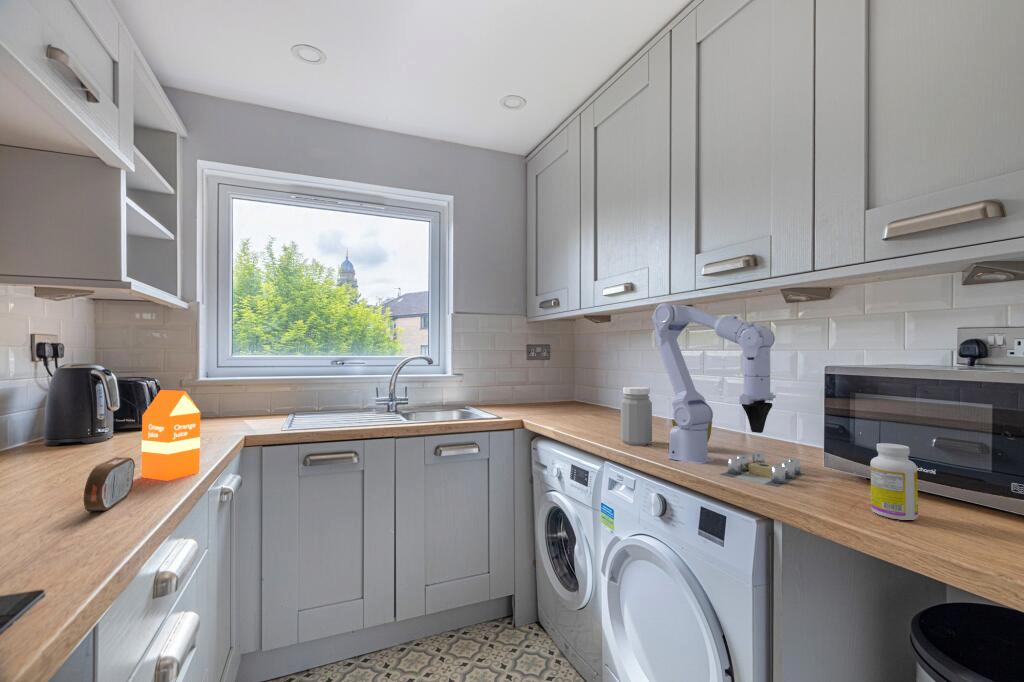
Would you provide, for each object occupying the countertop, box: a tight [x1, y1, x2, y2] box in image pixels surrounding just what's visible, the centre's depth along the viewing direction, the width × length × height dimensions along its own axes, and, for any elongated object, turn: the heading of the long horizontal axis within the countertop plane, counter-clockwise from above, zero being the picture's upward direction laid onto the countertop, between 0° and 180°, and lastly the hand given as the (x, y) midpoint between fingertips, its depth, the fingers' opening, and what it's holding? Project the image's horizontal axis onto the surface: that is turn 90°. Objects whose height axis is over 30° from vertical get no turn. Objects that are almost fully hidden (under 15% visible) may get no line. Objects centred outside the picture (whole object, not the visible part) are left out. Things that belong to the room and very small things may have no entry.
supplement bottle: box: [870, 442, 919, 519], centre depth 85 cm, size 7×7×13 cm
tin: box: [83, 456, 136, 513], centre depth 89 cm, size 15×3×8 cm, turn 21°
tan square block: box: [748, 462, 774, 478], centre depth 111 cm, size 5×5×2 cm
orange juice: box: [140, 389, 201, 481], centre depth 110 cm, size 8×9×20 cm
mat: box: [719, 469, 806, 488], centre depth 111 cm, size 13×17×1 cm
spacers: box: [727, 451, 802, 485], centre depth 112 cm, size 13×14×4 cm
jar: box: [620, 386, 653, 446], centre depth 150 cm, size 10×10×18 cm
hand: (757, 432), depth 112 cm, fingers closed
